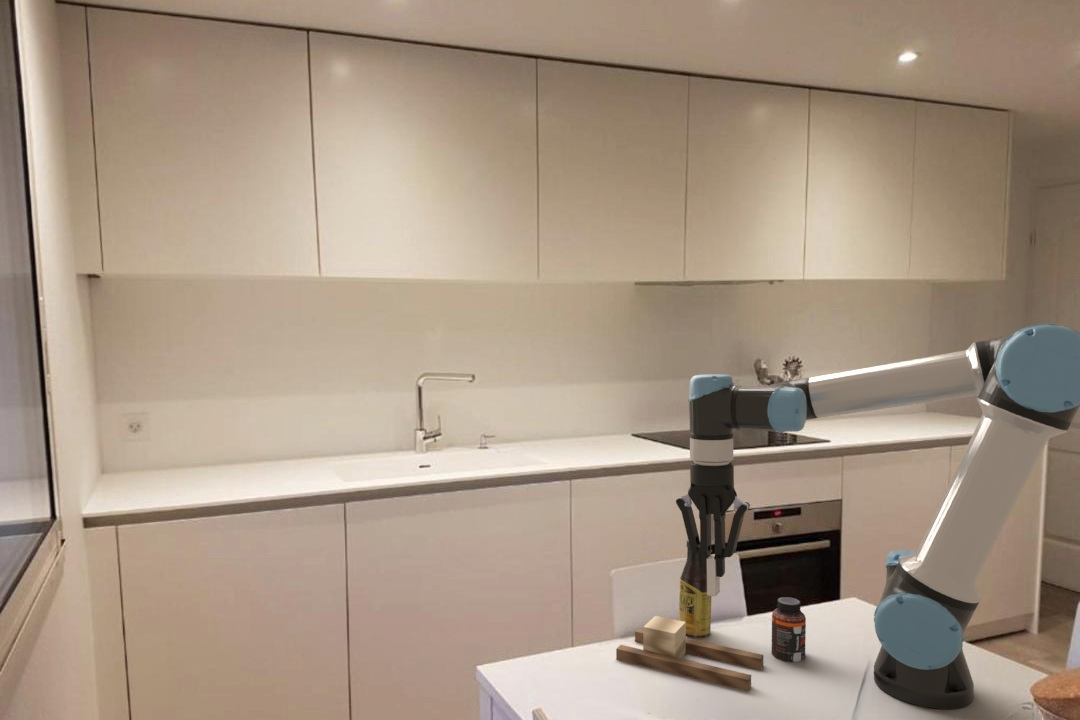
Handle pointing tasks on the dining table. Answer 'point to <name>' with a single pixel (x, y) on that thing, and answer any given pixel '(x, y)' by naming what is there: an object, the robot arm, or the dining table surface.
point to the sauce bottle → (694, 598)
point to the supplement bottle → (788, 631)
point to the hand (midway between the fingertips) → (713, 593)
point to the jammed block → (665, 636)
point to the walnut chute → (695, 668)
